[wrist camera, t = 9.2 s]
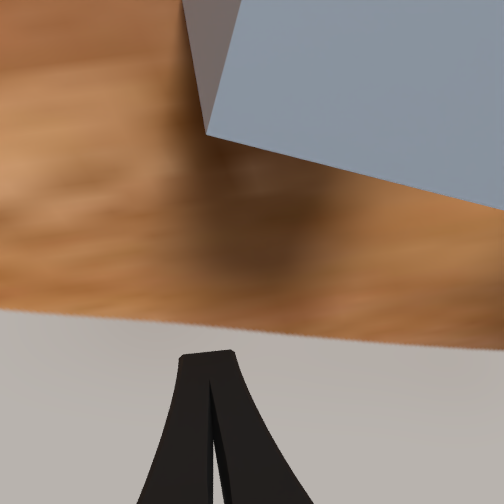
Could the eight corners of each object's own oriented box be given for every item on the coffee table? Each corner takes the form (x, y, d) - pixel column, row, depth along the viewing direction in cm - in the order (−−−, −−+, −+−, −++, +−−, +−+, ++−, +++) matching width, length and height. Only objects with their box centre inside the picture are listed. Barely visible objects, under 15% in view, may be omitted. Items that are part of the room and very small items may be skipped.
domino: (366, 57, 11) (716, 263, 4) (180, -9, 10) (204, 134, 2) (400, -20, 10) (937, 71, 3) (199, -106, 9) (328, -331, 2)
